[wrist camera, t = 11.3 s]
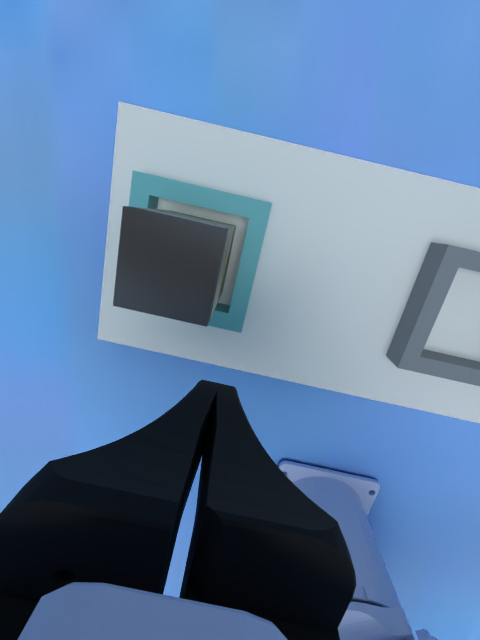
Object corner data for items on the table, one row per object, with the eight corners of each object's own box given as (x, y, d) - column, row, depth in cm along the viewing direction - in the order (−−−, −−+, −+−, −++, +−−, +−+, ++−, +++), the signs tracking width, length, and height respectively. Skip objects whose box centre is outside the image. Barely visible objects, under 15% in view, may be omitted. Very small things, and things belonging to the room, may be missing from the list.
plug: (222, 290, 20) (207, 326, 13) (160, 276, 20) (112, 305, 13) (236, 225, 19) (226, 229, 12) (169, 210, 19) (122, 205, 12)
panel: (500, 421, 23) (532, 447, 20) (104, 333, 22) (83, 349, 20) (610, 223, 19) (669, 224, 16) (126, 107, 18) (103, 88, 15)
